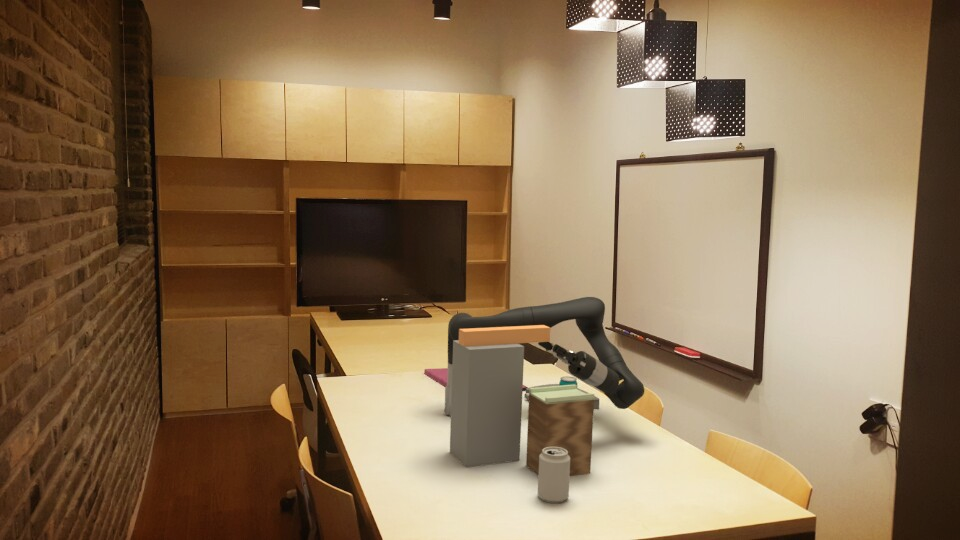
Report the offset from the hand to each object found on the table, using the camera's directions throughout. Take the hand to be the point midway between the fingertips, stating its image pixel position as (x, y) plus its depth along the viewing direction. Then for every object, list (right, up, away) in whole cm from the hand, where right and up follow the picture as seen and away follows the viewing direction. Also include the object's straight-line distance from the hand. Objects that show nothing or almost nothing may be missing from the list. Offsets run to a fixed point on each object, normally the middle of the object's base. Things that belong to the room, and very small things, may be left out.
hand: (546, 344), depth 208 cm
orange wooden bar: (-12, +1, -5) cm, 13 cm away
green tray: (+3, -13, -14) cm, 19 cm away
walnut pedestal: (+2, -32, -12) cm, 35 cm away
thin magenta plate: (-20, -23, +73) cm, 79 cm away
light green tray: (+9, -27, +50) cm, 57 cm away
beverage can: (+9, -29, +27) cm, 40 cm away
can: (-1, -35, -30) cm, 46 cm away
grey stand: (-18, -31, -4) cm, 36 cm away
